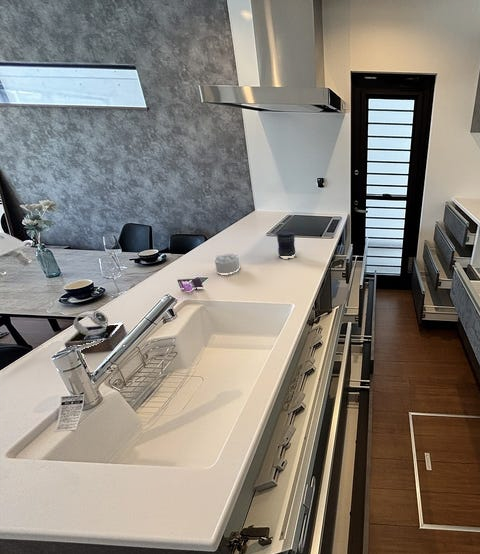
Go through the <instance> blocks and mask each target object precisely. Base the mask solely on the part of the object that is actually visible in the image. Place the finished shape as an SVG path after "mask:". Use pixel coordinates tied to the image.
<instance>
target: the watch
mask: <svg viewBox="0 0 480 554" xmlns="http://www.w3.org/2000/svg"><path fill="white" fill-rule="evenodd" d="M85 316H87V318H89V319H90V320H91V322H92V323H93V324H94V325H100V326H102V327H103V329H96V330H90V331H88V329H87V328H85V327H84V325H82V323H81V322H80V321H79V318H81V317H85ZM108 324H109V319H108V317H107V316H106V314H105V313H104V312H101V311H99V310H96V311H95V310H86V311H83V312H80V313H79V314H78V315H77V316H76V317H75V318H74V320H73V327H74V329H75V330H76V331H79V332H80V333H82V334H84V335H86V337H85V338H84V339H83V340H94V339H104V338H108V337H109V334H108V331H107V328H106V327H107V325H108Z"/></svg>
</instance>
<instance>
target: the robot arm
mask: <svg viewBox="0 0 480 554" xmlns="http://www.w3.org/2000/svg"><path fill="white" fill-rule="evenodd" d="M25 246H26V243H24V241H22V240H20V239H18V238H17V237H14V236H12V235H11V234H9V233H5V232H4V231H1V230H0V261H3V260H5V259H8V258H9V257H12V258H13V259H17V260H18V264H20V265H22V266H24V267H27V266H30V264H32V263H33V259H31V258H29V257H27V256H26V254H25V253H24V252H23V251H22V250H23V249H24V248H25ZM7 274H8V273H7V271H4V270H3V269H1V268H0V280H1V279H3V278H5V277H6V275H7Z"/></svg>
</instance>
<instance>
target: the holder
mask: <svg viewBox="0 0 480 554" xmlns="http://www.w3.org/2000/svg"><path fill="white" fill-rule="evenodd" d="M83 326H84V325H83ZM84 327H85V328H87V329H88V331H90V330H96V329H103V327H102V326H100V325H97V324H95V325H86V326H84ZM106 328H107V331H108V334H109V337H108V338H104V341H103V342H101V343H99V344H97V345H94V346H91V347H89V348H85V349H83V350H81V353H82V354H90V353H92V354H93V353H101V352H110V351H114V350H115V348H116V347H117V346H118V345H119V344H120V342H121V341H122V340H123V339H124V338H125V336H126V335H127V331H126V328H125V325H124V323H123V322H119V323H108V325H107V327H106ZM85 337H86V335H84V334H82V333H80V332H79V331H78V330H76V332H75V333H74V334H73V335H72V336H71V337H70V338H69V339H68V340H67V341H65V343H64V346H65V348H66V349H67V348H68V347H70V346H73V345H83V344H86V343H91V342H93V341H97V340H100V339H94V340H83V339H84V338H85ZM113 349H114V350H113Z"/></svg>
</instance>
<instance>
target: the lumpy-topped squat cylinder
mask: <svg viewBox="0 0 480 554" xmlns="http://www.w3.org/2000/svg"><path fill="white" fill-rule="evenodd" d="M214 263H215V269H216V274H217V275H218V276H219V277H222V276H224V278H226V277H231V276H230V275H232V274H233V275H232V276H235V275H237V274H239V272H240V270H241V266H240V258H239V255H238V254H234V253H223V254H221V255H220V254H219V255H217V256H216V257H215V259H214ZM239 266H240V268H239ZM238 268H239V270H238V271H237V272H234V271H236V270H237V269H238ZM217 272H219V273H230V272H234V273H232V274H228V275H221V274H218V273H217ZM225 276H226V277H225Z"/></svg>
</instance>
